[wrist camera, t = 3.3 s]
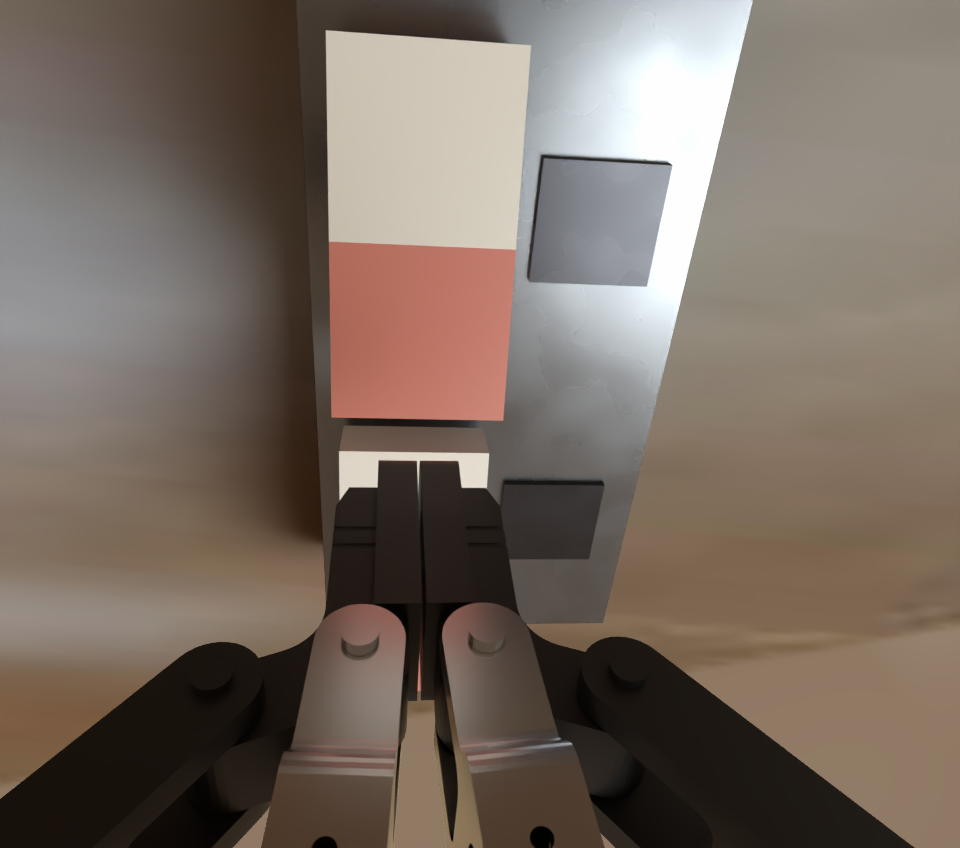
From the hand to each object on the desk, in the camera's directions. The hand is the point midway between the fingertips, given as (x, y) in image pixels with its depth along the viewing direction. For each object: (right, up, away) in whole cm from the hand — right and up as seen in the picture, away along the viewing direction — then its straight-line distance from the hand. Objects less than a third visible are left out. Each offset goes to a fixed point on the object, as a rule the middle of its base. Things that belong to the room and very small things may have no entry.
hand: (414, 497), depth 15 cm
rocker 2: (0, +6, +4) cm, 7 cm away
